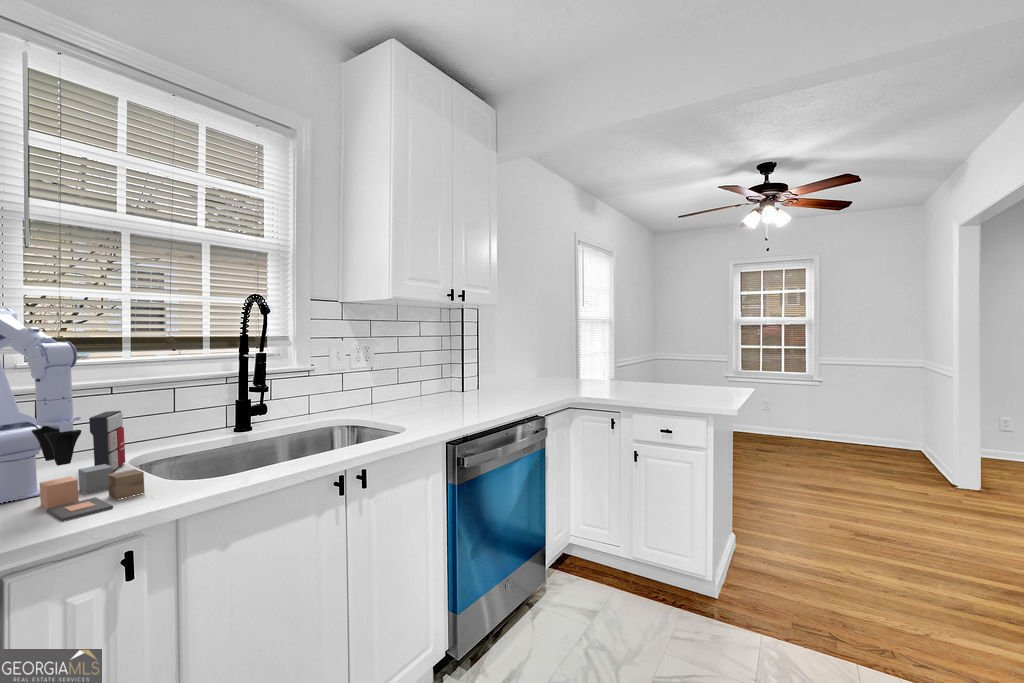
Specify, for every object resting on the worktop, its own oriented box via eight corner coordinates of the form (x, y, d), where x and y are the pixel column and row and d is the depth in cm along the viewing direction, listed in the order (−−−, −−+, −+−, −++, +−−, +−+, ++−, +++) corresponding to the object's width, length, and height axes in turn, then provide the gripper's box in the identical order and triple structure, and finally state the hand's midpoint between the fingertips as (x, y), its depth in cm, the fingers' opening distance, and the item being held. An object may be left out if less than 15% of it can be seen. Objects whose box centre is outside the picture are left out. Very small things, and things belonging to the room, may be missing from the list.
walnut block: (109, 496, 111) (107, 474, 111) (135, 490, 115) (134, 468, 115) (117, 500, 108) (116, 477, 108) (144, 494, 112) (143, 472, 112)
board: (46, 511, 102) (46, 507, 102) (95, 499, 109) (95, 496, 109) (62, 521, 96) (62, 517, 96) (112, 508, 103) (112, 504, 103)
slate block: (79, 490, 116) (78, 469, 116) (105, 484, 120) (104, 464, 120) (86, 494, 113) (85, 472, 113) (113, 487, 117) (112, 466, 117)
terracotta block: (40, 505, 106) (39, 482, 106) (71, 498, 110) (70, 476, 110) (47, 510, 103) (46, 486, 103) (78, 502, 107) (77, 479, 107)
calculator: (112, 473, 129) (109, 416, 129) (91, 475, 128) (88, 417, 127) (127, 463, 139) (124, 410, 139) (108, 465, 138) (105, 411, 137)
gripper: (90, 398, 105) (93, 461, 106) (67, 394, 113) (70, 453, 114) (45, 402, 100) (49, 470, 100) (25, 398, 108) (28, 461, 108)
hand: (57, 462), depth 106 cm, fingers open, 7 cm apart
